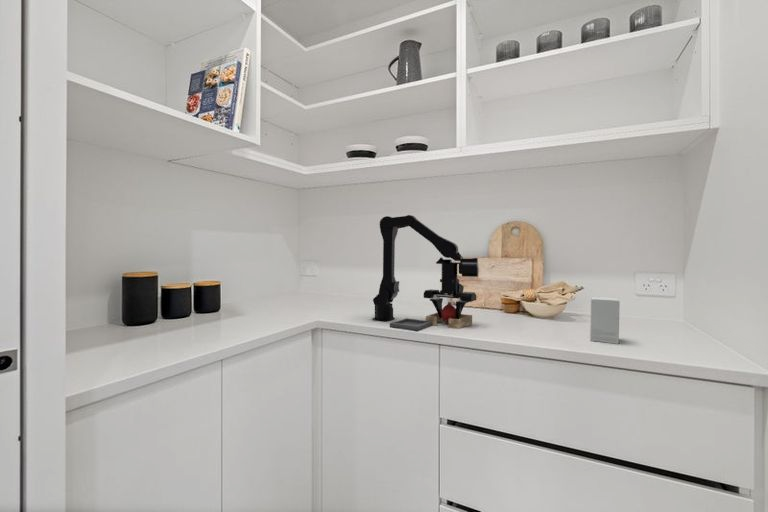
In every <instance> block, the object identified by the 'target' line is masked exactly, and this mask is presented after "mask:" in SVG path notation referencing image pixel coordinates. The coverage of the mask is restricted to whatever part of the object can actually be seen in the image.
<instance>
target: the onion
mask: <svg viewBox="0 0 768 512" xmlns="http://www.w3.org/2000/svg"><path fill="white" fill-rule="evenodd" d="M441 316H442V318H443V320H442V321H444V322H445V323H446V324H448V325H449V319H456V306H455V305H453V304H452V302H451V301H448V302H447V304H445V306H443V307H442V312H441Z"/></svg>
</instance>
